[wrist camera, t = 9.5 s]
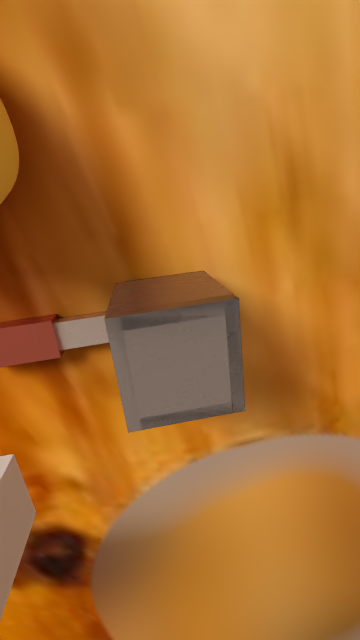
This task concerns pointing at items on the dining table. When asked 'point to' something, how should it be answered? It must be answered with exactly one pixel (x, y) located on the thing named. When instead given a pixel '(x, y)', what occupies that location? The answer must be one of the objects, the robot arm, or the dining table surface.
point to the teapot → (7, 154)
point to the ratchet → (49, 336)
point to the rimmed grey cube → (175, 349)
